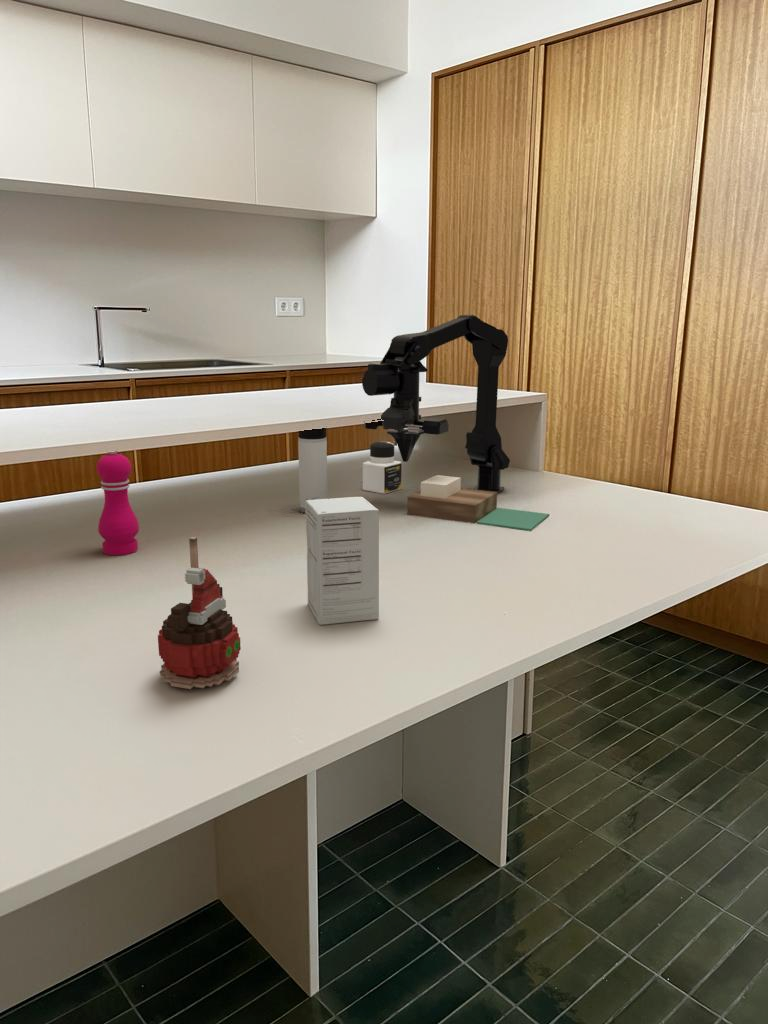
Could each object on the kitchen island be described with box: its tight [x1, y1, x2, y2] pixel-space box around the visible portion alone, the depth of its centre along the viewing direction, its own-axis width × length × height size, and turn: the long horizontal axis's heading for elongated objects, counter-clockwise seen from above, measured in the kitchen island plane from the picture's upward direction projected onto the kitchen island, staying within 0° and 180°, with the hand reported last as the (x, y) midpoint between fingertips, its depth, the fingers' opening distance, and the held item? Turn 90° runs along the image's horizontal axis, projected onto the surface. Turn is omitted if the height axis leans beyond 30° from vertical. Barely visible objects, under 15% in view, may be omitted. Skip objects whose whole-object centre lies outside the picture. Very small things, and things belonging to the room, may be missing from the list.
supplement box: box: [305, 496, 380, 626], centre depth 119 cm, size 10×9×17 cm
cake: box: [157, 536, 242, 690], centre depth 97 cm, size 11×9×18 cm
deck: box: [406, 487, 498, 524], centre depth 179 cm, size 14×16×4 cm
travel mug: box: [297, 427, 328, 514], centre depth 177 cm, size 6×7×20 cm
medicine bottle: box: [362, 441, 403, 495], centre depth 199 cm, size 7×7×12 cm
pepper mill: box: [96, 451, 140, 556], centre depth 147 cm, size 7×7×20 cm
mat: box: [475, 507, 550, 532], centre depth 173 cm, size 14×12×1 cm
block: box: [420, 474, 462, 499], centre depth 179 cm, size 9×6×3 cm, turn 153°
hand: (405, 461), depth 182 cm, fingers closed
